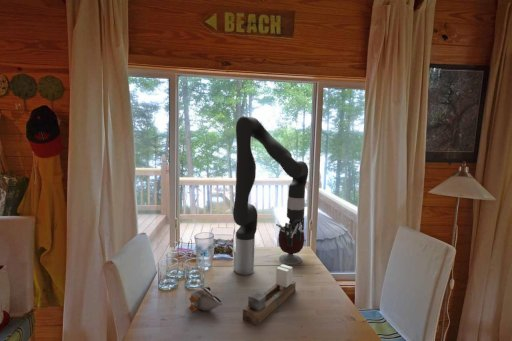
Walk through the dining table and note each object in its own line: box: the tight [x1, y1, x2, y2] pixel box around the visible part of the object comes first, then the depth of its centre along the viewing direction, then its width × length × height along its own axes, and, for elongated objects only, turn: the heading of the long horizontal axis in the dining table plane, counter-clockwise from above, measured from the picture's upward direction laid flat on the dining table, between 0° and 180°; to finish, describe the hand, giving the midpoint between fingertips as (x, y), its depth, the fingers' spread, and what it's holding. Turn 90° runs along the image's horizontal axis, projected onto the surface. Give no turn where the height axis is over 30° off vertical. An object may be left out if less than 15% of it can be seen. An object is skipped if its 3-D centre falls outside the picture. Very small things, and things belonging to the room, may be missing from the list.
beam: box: [242, 280, 297, 326], centre depth 117 cm, size 6×30×8 cm, turn 146°
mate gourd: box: [275, 223, 305, 265], centre depth 160 cm, size 16×14×20 cm
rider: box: [275, 263, 294, 290], centre depth 124 cm, size 5×5×9 cm
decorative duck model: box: [188, 286, 223, 313], centre depth 114 cm, size 15×8×15 cm
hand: (293, 243), depth 130 cm, fingers open, 8 cm apart
